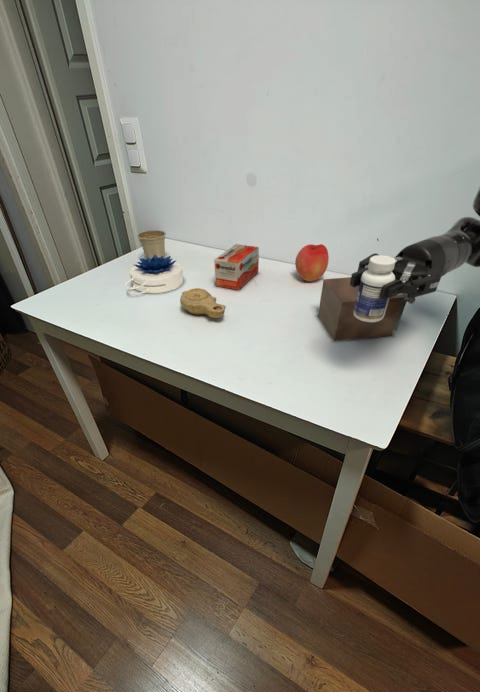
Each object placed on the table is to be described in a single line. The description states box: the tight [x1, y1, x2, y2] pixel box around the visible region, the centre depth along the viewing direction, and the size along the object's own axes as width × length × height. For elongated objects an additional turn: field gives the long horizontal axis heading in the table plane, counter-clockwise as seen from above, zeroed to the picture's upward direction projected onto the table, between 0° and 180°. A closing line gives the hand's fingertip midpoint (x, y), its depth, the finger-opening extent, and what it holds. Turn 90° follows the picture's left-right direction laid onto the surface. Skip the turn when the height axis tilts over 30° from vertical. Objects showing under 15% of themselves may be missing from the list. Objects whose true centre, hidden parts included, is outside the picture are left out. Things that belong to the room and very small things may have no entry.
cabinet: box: [317, 276, 405, 342], centre depth 83 cm, size 15×13×10 cm
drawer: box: [393, 293, 416, 332], centre depth 83 cm, size 18×11×8 cm, turn 99°
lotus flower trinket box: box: [124, 255, 184, 295], centre depth 102 cm, size 7×16×20 cm
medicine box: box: [213, 243, 260, 291], centre depth 104 cm, size 15×8×8 cm, turn 155°
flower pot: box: [136, 229, 167, 260], centre depth 116 cm, size 9×9×9 cm
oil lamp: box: [179, 287, 227, 319], centre depth 90 cm, size 11×14×5 cm
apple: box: [294, 243, 330, 282], centre depth 102 cm, size 10×10×10 cm
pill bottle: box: [354, 254, 396, 322], centre depth 58 cm, size 5×5×10 cm
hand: (367, 286), depth 56 cm, fingers closed on pill bottle, 5 cm apart
